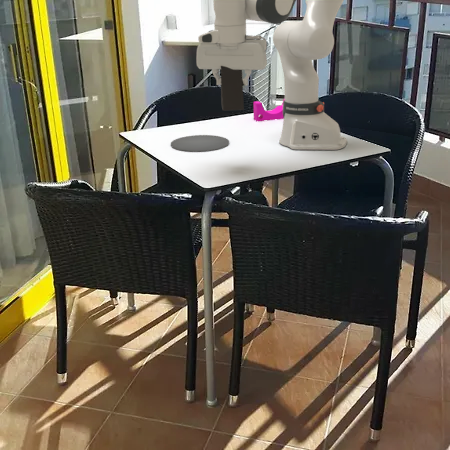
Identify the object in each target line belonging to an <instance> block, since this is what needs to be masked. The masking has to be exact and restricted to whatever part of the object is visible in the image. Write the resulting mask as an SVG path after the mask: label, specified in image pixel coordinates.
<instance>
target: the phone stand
mask: <svg viewBox="0 0 450 450" xmlns="http://www.w3.org/2000/svg"><path fill="white" fill-rule="evenodd" d="M220 78H221V84H222V85H220V94H221V95H220V98H221V99H220V100H221V108H222V111H226V112H227V111H244V110H245V107H244V86H243V83H242V79H243V70H234V69H230V68H228V67H225V66H221V69H220Z"/></svg>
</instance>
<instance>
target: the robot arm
mask: <svg viewBox="0 0 450 450" xmlns="http://www.w3.org/2000/svg"><path fill="white" fill-rule="evenodd" d="M212 1H213V11H214V14H215V15H214V16H215V18H214V25H213V26H214V29H212V30H209V31H207V32H204V33H201V34H200V35H199V36H198V42H199V44H198V45H197V48H196V67H197V68H198V69H199V70H211V72H212V74H213V76H214V79H215V80H216V86H221V85H222V84H221V75H220V74H219V72H220V70H221V66H225V67H228V68H230V69H234V70H242V71H244V74H245V76H244V78H242V83H243V87H245V86H246V87H247V86H248V85H249V78H250V76H251V75H252V71H263V70H264V69H266V67H267V66H268V60H267V52H266V51H267V48H268V47H267V44H268V43H267V40H266V38H265V37H263V36H262V35H259V34H258V35H252V34H251V35H249V34H248V35H247V21H255V22H263V23H267V24H273V25H277V26H276V28H275V30H274V32H273V35H272V42H273V45H274V47H275V49H276V50H277V53H278V54H279V58H280V62H281V66H282V71H283V78H284V80H283V81H284V99H285V100H284V101H283V100H282V103H283V117H284V119H283V122H282V123H283V124H282V129H281V130H282V131H281V134H280V135H281V136H280V138H279V144H280V145H282V146H285V147H287V148H290V149H292V150H310V151H311V150H313V151H314V150H316V151H317V150H323V151H324V150H326V151H327V150H328V151H331V150H332V151H337V150H340V149H343V148H345V147H346V146H347V144H348V140H347V139H348V138H346V137H345V136H341V128H340V125H339V123H338V122H337V121H336V120H334V119H333V118H331V116H329V115H328V114H327V113H325V102H324V101H323V102H322V101H321V100H319V82H320V78H319V75H318V72H317V71H316V70H315V67H314V64H313V61H317V60H322V59H325V58H326V57H328V56H329V55H330V54H331V53H332V51H333V48H334V45H335V37H334V34H333V29H334V23H335V20H336V17H337V14H338V12H339V10H340V8H341V6H342V5H343V3H344V1H345V0H305V5H306V9H305V14H304V16H303V18H302V19H301V21H297V20H290V21H286V20H288V18H289V17H290V15H291V13H292V11H293V9H294V7H295V3H296V1H297V0H212Z"/></svg>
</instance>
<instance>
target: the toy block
mask: <svg viewBox="0 0 450 450" xmlns="http://www.w3.org/2000/svg"><path fill="white" fill-rule="evenodd" d="M284 100H285V98H283V100H282V102H281V103H282V104H281V105H277V106H276V107H275V108H273V109H271V110H265V108H264V106H263V104H262V102H261V101H253V120H254V121H255V120H256V121H255V122H257V121H258V122H265V121H264V120H267V121H275V119H277V120H284V117H283V101H284Z"/></svg>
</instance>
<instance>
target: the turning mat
mask: <svg viewBox="0 0 450 450" xmlns="http://www.w3.org/2000/svg"><path fill="white" fill-rule="evenodd" d="M229 145H230V140H229V139H228V138H226V137H223V136H219V135H211V134H209V135H208V134H195V135H194V134H193V135H188V136H182V137H178V138H175V139H173V140H172V141H171V142H170V147H171V148H173V149H174V150H177V151H179V152H180V151H181V152H188V153H202V152H204V153H205V152H211V151H212V152H213V151H217V150H218V151H219V150H221V149H225V148H226V147H228V146H229Z"/></svg>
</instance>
